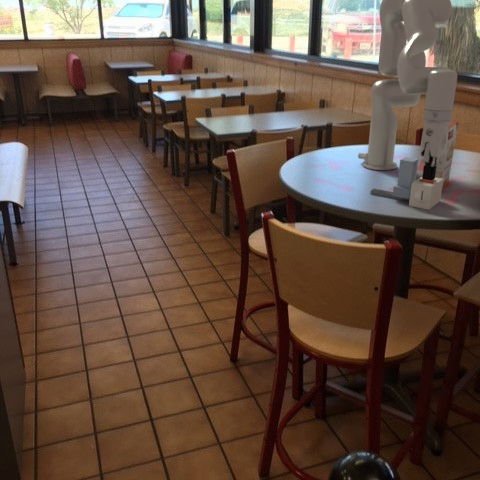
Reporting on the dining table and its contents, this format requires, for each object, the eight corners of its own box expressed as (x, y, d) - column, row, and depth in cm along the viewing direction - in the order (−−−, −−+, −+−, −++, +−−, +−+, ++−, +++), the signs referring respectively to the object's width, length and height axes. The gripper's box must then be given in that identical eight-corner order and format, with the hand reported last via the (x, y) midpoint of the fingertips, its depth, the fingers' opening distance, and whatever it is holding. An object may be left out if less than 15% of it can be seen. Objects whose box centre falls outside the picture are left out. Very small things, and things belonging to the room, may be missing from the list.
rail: (370, 193, 163) (370, 190, 163) (373, 192, 165) (373, 188, 164) (413, 202, 155) (413, 198, 155) (416, 200, 157) (416, 196, 156)
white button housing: (408, 205, 152) (411, 183, 149) (420, 197, 160) (423, 175, 157) (428, 210, 149) (431, 186, 146) (440, 200, 156) (443, 178, 153)
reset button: (419, 188, 152) (420, 179, 151) (423, 186, 155) (424, 176, 153) (430, 190, 150) (431, 180, 149) (434, 188, 153) (435, 178, 152)
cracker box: (440, 193, 163) (450, 127, 155) (421, 191, 166) (430, 125, 158) (449, 183, 174) (459, 120, 166) (431, 180, 177) (440, 119, 169)
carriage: (392, 195, 156) (396, 160, 152) (401, 190, 161) (405, 156, 157) (408, 199, 153) (413, 163, 149) (417, 193, 158) (421, 158, 154)
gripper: (442, 120, 137) (432, 186, 144) (458, 113, 147) (449, 175, 154) (414, 118, 141) (406, 182, 148) (432, 111, 152) (424, 171, 159)
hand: (428, 178), depth 151 cm, fingers closed
